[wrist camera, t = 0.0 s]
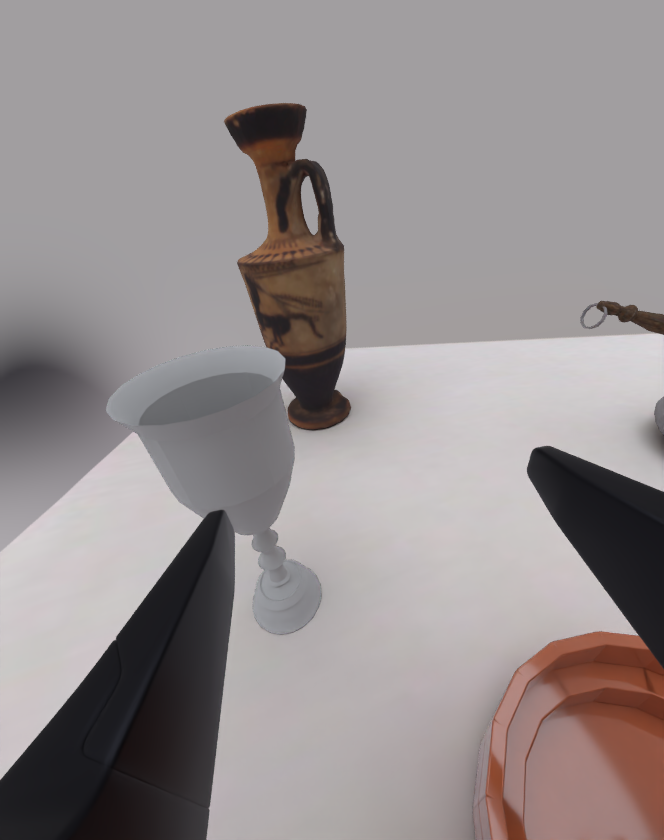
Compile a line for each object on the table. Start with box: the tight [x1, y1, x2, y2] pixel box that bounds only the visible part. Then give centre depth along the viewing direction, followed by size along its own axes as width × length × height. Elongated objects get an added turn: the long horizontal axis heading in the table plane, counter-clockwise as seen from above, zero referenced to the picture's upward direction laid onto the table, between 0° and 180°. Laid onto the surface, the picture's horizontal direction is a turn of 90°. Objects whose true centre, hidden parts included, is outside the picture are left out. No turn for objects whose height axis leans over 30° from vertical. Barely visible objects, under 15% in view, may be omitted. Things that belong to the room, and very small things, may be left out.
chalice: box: [106, 345, 321, 634], centre depth 19 cm, size 7×7×18 cm
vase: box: [224, 103, 351, 430], centre depth 35 cm, size 11×11×30 cm
